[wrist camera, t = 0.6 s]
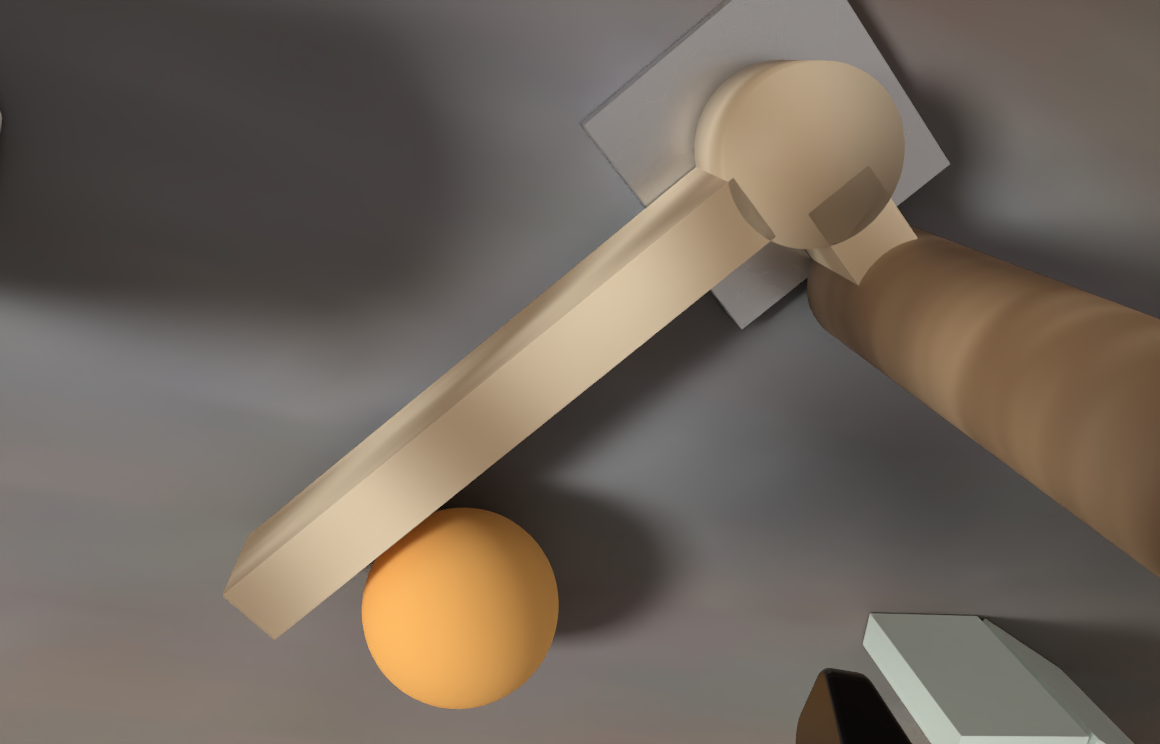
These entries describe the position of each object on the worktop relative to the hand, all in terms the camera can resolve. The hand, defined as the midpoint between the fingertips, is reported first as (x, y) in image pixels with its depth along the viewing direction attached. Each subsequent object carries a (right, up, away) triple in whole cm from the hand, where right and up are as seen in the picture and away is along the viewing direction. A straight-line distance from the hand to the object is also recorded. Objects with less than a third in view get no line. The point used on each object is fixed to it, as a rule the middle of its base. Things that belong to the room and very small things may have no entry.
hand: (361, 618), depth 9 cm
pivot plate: (+6, +8, +12) cm, 16 cm away
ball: (-1, -3, +13) cm, 13 cm away
